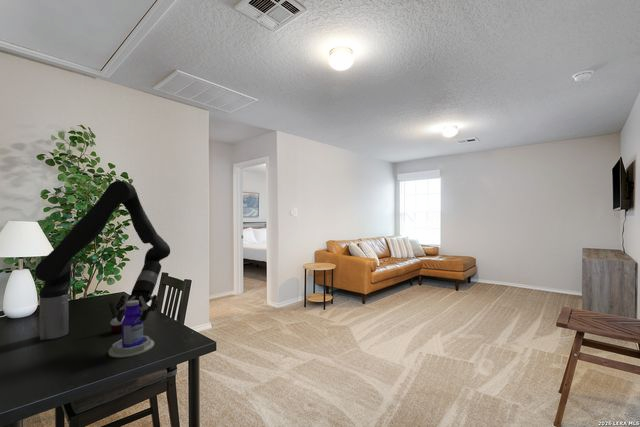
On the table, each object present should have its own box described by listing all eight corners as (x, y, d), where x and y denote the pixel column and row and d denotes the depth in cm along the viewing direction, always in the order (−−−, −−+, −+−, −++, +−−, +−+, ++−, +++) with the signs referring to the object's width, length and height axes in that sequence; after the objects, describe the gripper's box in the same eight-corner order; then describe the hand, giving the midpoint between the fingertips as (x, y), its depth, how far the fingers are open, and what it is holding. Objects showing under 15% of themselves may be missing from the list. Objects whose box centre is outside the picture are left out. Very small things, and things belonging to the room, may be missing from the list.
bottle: (131, 350, 114) (131, 304, 114) (118, 349, 115) (118, 303, 115) (146, 342, 121) (146, 299, 121) (133, 341, 122) (133, 298, 122)
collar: (112, 361, 107) (112, 354, 107) (105, 348, 118) (105, 341, 118) (159, 348, 117) (159, 342, 117) (148, 336, 128) (148, 331, 128)
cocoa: (130, 332, 134) (131, 305, 134) (113, 336, 130) (115, 308, 129) (122, 326, 140) (123, 300, 140) (106, 329, 135) (107, 302, 135)
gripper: (124, 279, 125) (106, 316, 113) (160, 278, 126) (146, 316, 114) (131, 289, 130) (115, 325, 119) (165, 288, 131) (152, 324, 120)
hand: (130, 320), depth 117 cm, fingers open, 8 cm apart
